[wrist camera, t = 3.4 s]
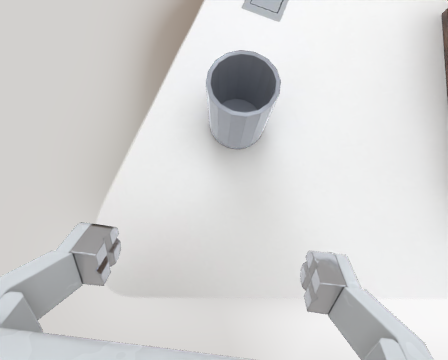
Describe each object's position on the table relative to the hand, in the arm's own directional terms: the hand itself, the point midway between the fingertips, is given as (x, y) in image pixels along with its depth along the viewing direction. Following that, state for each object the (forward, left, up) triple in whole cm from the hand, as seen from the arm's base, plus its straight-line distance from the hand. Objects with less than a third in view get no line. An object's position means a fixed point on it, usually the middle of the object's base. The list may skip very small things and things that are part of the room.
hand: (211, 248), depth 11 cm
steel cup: (+14, -1, -16) cm, 21 cm away
